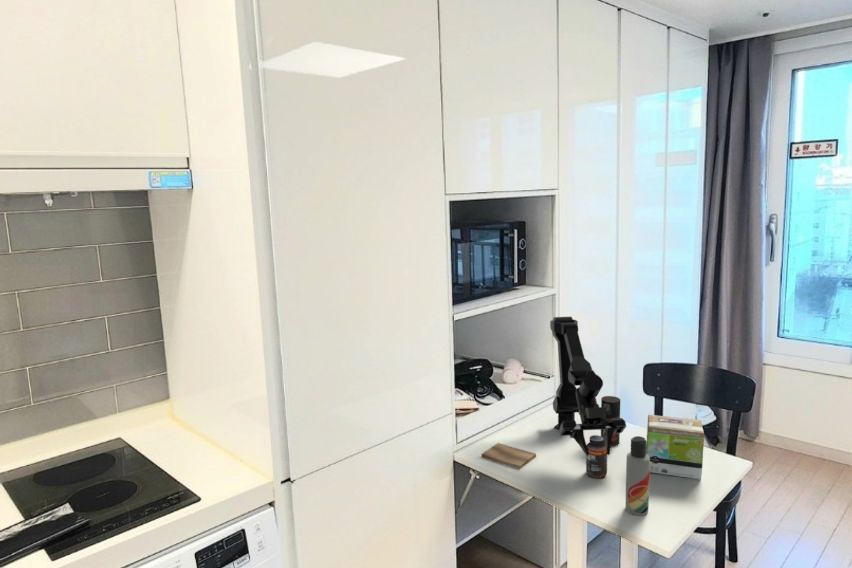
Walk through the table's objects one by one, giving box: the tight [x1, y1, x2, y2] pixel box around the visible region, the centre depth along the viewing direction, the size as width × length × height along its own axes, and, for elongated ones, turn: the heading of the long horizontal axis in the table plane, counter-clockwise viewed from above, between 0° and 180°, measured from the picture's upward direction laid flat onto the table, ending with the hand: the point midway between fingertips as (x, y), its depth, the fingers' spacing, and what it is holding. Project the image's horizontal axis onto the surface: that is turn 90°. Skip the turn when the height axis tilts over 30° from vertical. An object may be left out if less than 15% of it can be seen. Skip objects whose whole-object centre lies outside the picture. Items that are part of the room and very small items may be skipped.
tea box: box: [646, 414, 705, 481], centre depth 172 cm, size 15×10×15 cm, turn 70°
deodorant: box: [600, 395, 621, 447], centre depth 191 cm, size 6×6×15 cm
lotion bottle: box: [625, 435, 651, 516], centre depth 150 cm, size 6×6×20 cm
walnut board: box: [480, 442, 537, 470], centre depth 184 cm, size 10×14×1 cm
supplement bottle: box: [585, 434, 608, 479], centre depth 170 cm, size 6×6×11 cm
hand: (598, 455), depth 169 cm, fingers closed on supplement bottle, 6 cm apart
